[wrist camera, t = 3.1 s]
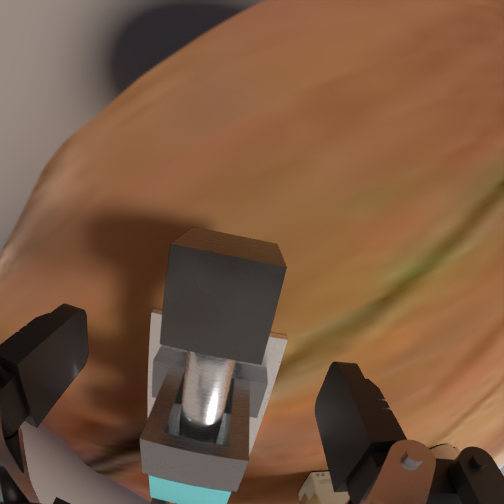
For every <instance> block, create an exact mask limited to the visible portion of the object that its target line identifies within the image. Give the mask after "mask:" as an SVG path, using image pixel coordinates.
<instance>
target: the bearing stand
mask: <svg viewBox="0 0 504 504" xmlns="http://www.w3.org/2000/svg"><path fill="white" fill-rule="evenodd" d="M161 321H162V310H159V309H154V310H153V311H152V312H151V324H150V340H149V360H148V419H147V422H146V424H145V427H144V429H143V432H142V434H141V437H140V450H141V462H142V473H146V474H149V475H153V476H156V477H160V478H164V479H168V480H172V481H177V482H181V483H186V484H191V485H196V486H201V487H207V488H213V489H219V490H227V491H234V492H237V490H238V488H239V485H240V483H241V480H242V478H243V475H244V473H245V470H246V467H247V465H248V462H249V455H250V452H251V450H252V447H253V444H254V441H255V439H256V436H257V433H258V430H259V427H260V424H261V421H262V419H263V416H264V413H265V410H266V407H267V404H268V401H269V398H270V395H271V392H272V388H273V385H274V382H275V379H276V376H277V373H278V370H279V366H280V363H281V360H282V357H283V353H284V350H285V347H286V343H287V335H283V334H277V333H271V332H270V335H269V339H268V342H267V346H266V350H265V354H264V357H263V361H262V365H259V364H253V363H247V362H241V361H236V360H235V365H234V369H233V374H232V378H231V382H230V387H229V391H228V396H227V400H226V405H225V409H224V414H223V418H222V422H221V427H220V431H219V436H218V440H217V444H215V443H209V442H204V441H199V440H194V439H189V438H185V437H180V436H178V435H179V424H180V413H181V403H182V394H183V385H184V376H185V367H186V359H187V351H186V350H182V349H178V348H174V347H169V346H165V345H161V344H160V333H161ZM174 430H176V435H173V431H174ZM222 441H223V445H222ZM151 504H169V502H168V501H164V500H160V499H156V498H152V502H151Z"/></svg>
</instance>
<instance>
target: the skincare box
mask: <svg viewBox="0 0 504 504" xmlns="http://www.w3.org/2000/svg"><path fill="white" fill-rule="evenodd" d="M298 495H299V502H300V504H345V503H346V502H347V500H348V499H349V496H348V492H335V493H334V490H333V486H332V481H331V477H330V473H329V472H311V473H310V475H309V476H308V478H307V479H306V481H305V483H304V484H303V486H302V488H301V489H300V491H299V493H298Z"/></svg>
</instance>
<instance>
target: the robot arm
mask: <svg viewBox="0 0 504 504" xmlns="http://www.w3.org/2000/svg"><path fill="white" fill-rule="evenodd" d="M88 351H89V350H88V334H87V315H86V312H85V310H83V309H80V308H77V307H74V306H71V305H68V304H62V305H61V306H59V307H58V308H57V309H55V310H54V311H53V312H51V313H47V314H44V315H42V316H39V317H36V318H35V319H33V320H32V321H31V322H29V323H28V324H27V326H24V327H23V328H21V329H20V330H19V332H16V333H15V334H13V335H12V336H11V337H9V338H8V339H7V340H6V341H4V342H3V343H2V344H1V345H0V504H40V502H39V500H38V497H37V495H36V493H35V491H34V489H33V487H32V484H31V481H30V477H29V472H28V467H27V462H26V456H25V450H24V443H23V436H22V430H21V428H20V425H21V424H22V423H23V422H24V421H26V422H27V423H29V424H31V425H33V426H35V427H36V428H37V427H38V426H39V424H40V423H41V422H42V420H43V419H44V418H45V416H46V415H47V414H48V412H49V411H50V410H51V408H52V407H53V406H54V404H55V403H56V402H57V400H58V399H59V398H60V397H61V395H62V394H63V393H64V391H65V390H66V389H67V388H68V386H69V385H70V384H71V382H72V381H73V380H74V379H75V377H76V376H77V375H78V374H79V372H80V371H81V370H82V369H83V367H84V366H85V364H86V362H87V358H88ZM315 417H316V421H317V425H318V429H319V433H320V437H321V441H322V445H323V449H324V453H325V457H326V461H327V465H328V469H329V473H330V477H331V481H332V486H333V490H334V493H335V492H348V491H349V495H350V498H349V499H348V500H347V502H346V503H345V504H504V476H503V475H502V473H501V471H500V470H499V468H498V466H497V465H496V463H495V462H494V460H493V458H492V457H491V456H490V455H489V454H488V453H487V452H486V451H484V450H483V449H481V448H478V447H467V448H465V449H463V450H462V451H461V452H460V451H459V450H458V448H457V447H456V448H453V447H452V446H451V445H448V444H445V445H440V446H437V447H435V448H432V449H429V448H428V447H427V446H425V445H424V444H422V443H420V442H417V441H414V440H407V438H406V436H405V434H404V433H403V431H402V429H401V427H400V425H399V423H398V422H397V420H396V418H395V416H394V414H393V412H392V411H391V410H390V407H389V405H388V403H387V402H386V401H385V398H384V396H383V394H382V393H381V391H380V389H379V388H378V387H377V386H376V385H375V384H373V383H372V382H371V381H370V380H369V379H365V378H364V376H363V374H362V372H361V370H360V368H359V366H358V365H357V364H355V363H345V362H333V363H332V364H331V366H330V368H329V370H328V372H327V375H326V377H325V380H324V382H323V385H322V387H321V389H320V392H319V394H318V396H317V399H316V403H315ZM53 504H70V503H67V502H66V501H64V500H61V499H59V498H57V497H56V499H55V501H54V503H53Z"/></svg>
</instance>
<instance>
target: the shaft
mask: <svg viewBox="0 0 504 504" xmlns="http://www.w3.org/2000/svg"><path fill="white" fill-rule="evenodd" d="M286 268H287V267H286V264H285V262H284V259H283V257H282V254H281V252H280V249H279V247H278V244H275V243H271V242H266V241H261V240H256V239H251V238H246V237H241V236H236V235H231V234H226V233H221V232H216V231H211V230H206V229H201V228H196V227H192V228H191V229H190V230H188V231H187V232H186V233H184V234H183V235H182V236H180V237H179V238H178V239H176V240H175V241H174V242H172V243H171V244H170V251H169V258H168V266H167V274H166V282H165V291H164V300H163V310H162V321H161V333H160V344H161V345H165V346H169V347H174V348H178V349H182V350H186V351H187V359H186V367H185V376H184V385H183V394H182V403H181V413H180V424H179V435H178V436H180V437H185V438H189V439H194V440H199V441H204V442H209V443H215V444H217V440H218V436H219V431H220V427H221V422H222V418H223V414H224V409H225V405H226V400H227V396H228V391H229V387H230V382H231V378H232V374H233V369H234V365H235V360H236V361H241V362H247V363H253V364H259V365H262V361H263V357H264V354H265V350H266V346H267V342H268V339H269V335H270V331H271V327H272V324H273V320H274V316H275V312H276V308H277V304H278V300H279V296H280V292H281V288H282V284H283V280H284V276H285V272H286ZM174 504H177V503H174Z"/></svg>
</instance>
